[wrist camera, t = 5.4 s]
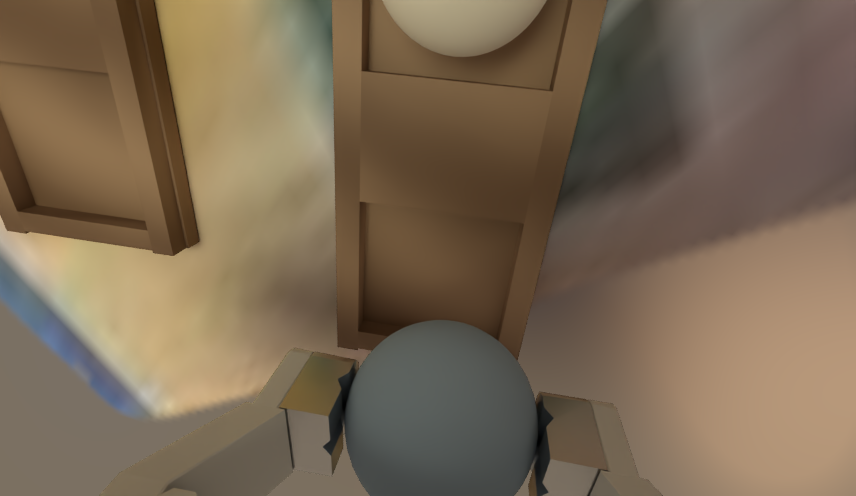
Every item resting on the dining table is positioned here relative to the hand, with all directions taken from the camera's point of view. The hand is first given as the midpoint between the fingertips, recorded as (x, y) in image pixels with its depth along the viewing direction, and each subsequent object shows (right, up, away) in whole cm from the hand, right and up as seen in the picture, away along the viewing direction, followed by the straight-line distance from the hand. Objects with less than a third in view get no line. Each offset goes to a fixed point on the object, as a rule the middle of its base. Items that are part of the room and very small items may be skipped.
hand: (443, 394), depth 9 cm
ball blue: (0, +1, +1) cm, 2 cm away
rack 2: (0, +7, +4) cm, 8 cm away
